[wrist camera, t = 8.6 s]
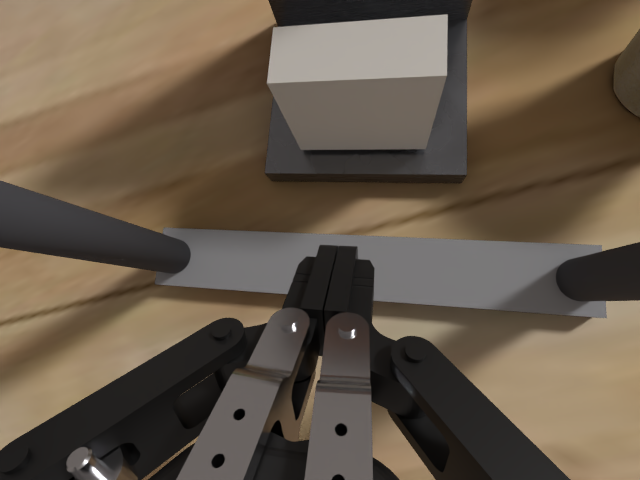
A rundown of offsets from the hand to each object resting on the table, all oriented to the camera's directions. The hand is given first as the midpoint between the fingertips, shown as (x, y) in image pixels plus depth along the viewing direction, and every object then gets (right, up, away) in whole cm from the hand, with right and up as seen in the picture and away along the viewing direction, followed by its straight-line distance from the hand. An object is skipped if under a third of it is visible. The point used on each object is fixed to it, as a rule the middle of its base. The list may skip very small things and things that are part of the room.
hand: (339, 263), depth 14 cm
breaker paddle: (+2, +8, +8) cm, 12 cm away
